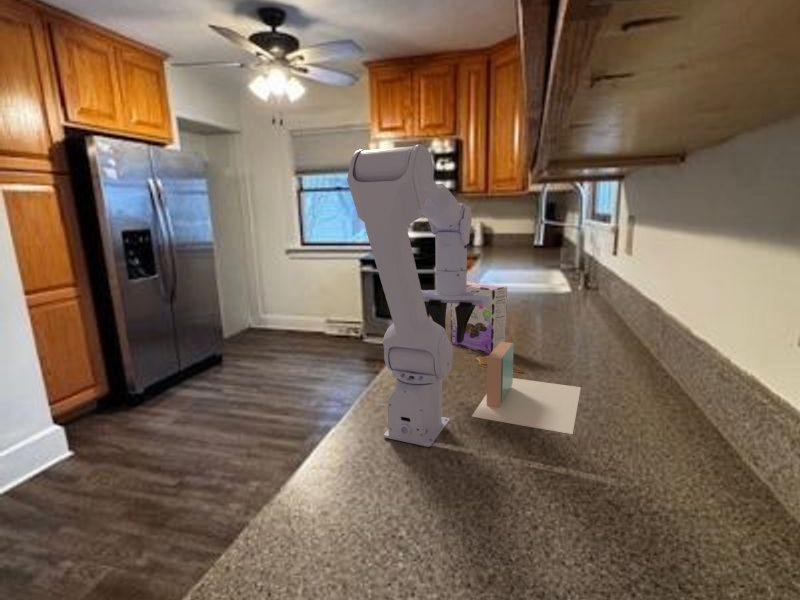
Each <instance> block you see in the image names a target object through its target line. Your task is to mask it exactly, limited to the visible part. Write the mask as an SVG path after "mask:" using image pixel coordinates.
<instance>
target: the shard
mask: <svg viewBox="0 0 800 600" xmlns="http://www.w3.org/2000/svg"><path fill="white" fill-rule="evenodd" d="M488 356H489V355H486V356H485V355H484V356H477V357H476V358H475V359H476V360H477V361H478V363H479V364H478V367H481V368H482V367H483V368H487V357H488ZM514 372H515V373H522V374H524V372H525V371H524V370H522V369H521V368H519V367H518V366H517V365H516V364H514V363H513V373H514Z"/></svg>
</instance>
